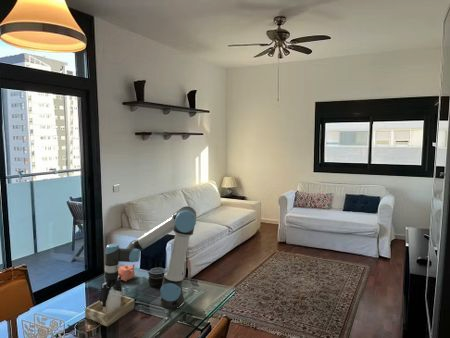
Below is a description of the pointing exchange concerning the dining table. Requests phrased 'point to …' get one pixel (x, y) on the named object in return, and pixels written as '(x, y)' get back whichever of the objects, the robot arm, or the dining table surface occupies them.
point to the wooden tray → (105, 318)
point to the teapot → (126, 272)
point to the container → (156, 277)
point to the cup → (113, 301)
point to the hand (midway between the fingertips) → (110, 308)
